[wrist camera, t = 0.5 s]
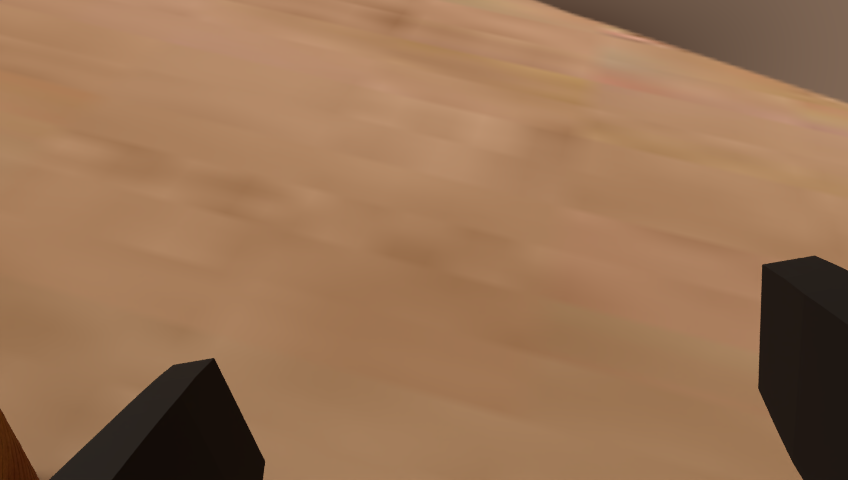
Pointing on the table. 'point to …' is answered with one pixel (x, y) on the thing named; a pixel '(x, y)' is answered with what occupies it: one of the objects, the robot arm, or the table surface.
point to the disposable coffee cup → (13, 456)
